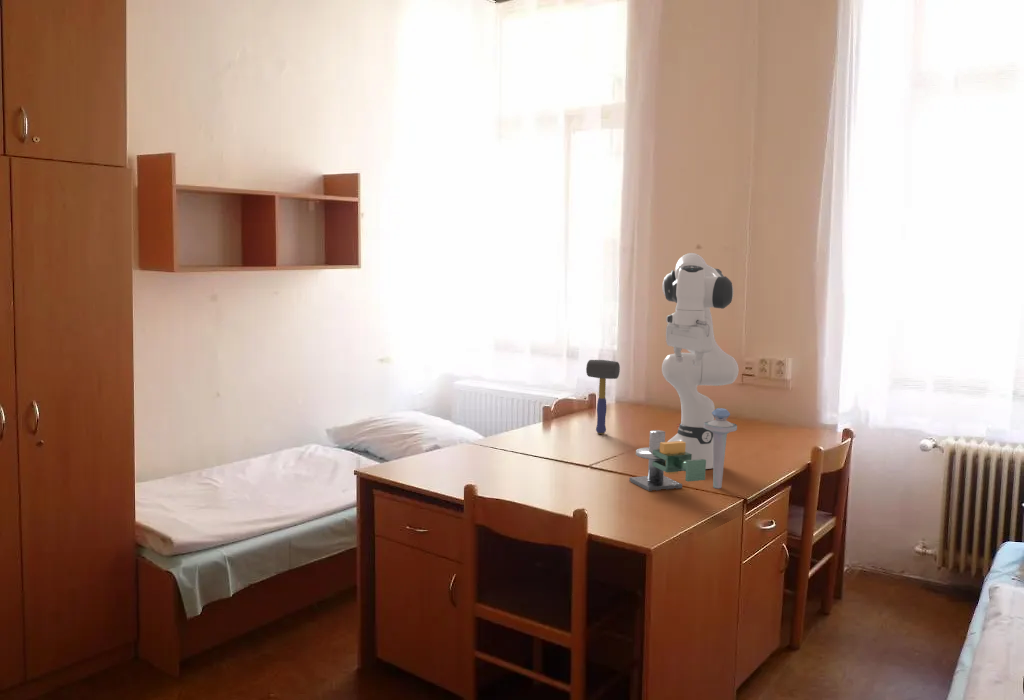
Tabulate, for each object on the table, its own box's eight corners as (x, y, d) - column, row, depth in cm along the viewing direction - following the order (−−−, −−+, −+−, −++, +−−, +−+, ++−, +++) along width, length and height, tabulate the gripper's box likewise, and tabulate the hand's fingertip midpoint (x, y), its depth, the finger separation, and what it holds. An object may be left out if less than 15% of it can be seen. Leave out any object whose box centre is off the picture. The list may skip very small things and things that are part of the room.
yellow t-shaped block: (658, 472, 265) (660, 442, 264) (680, 471, 268) (681, 440, 266) (662, 474, 262) (664, 444, 261) (684, 473, 265) (685, 442, 264)
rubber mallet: (583, 434, 347) (585, 359, 344) (589, 430, 354) (591, 357, 351) (613, 437, 342) (615, 362, 339) (618, 433, 349) (621, 360, 346)
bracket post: (627, 480, 277) (629, 428, 276) (662, 477, 282) (664, 426, 280) (676, 506, 251) (678, 448, 249) (713, 502, 256) (716, 445, 254)
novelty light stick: (733, 484, 275) (737, 407, 273) (733, 493, 266) (737, 413, 263) (701, 482, 278) (705, 405, 275) (700, 490, 268) (704, 410, 266)
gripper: (718, 321, 256) (716, 368, 258) (680, 316, 275) (678, 359, 277) (700, 322, 254) (698, 368, 255) (663, 316, 273) (661, 360, 274)
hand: (687, 363), depth 266 cm, fingers open, 8 cm apart
